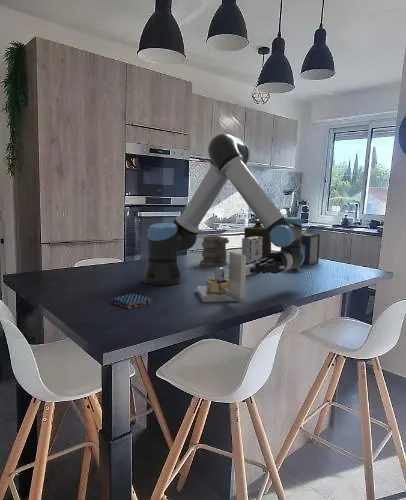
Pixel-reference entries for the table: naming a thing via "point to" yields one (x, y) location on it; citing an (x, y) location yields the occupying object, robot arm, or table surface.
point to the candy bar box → (252, 248)
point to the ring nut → (232, 278)
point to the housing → (213, 296)
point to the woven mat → (131, 300)
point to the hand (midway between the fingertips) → (241, 271)
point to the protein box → (310, 248)
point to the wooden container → (259, 232)
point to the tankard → (214, 251)
